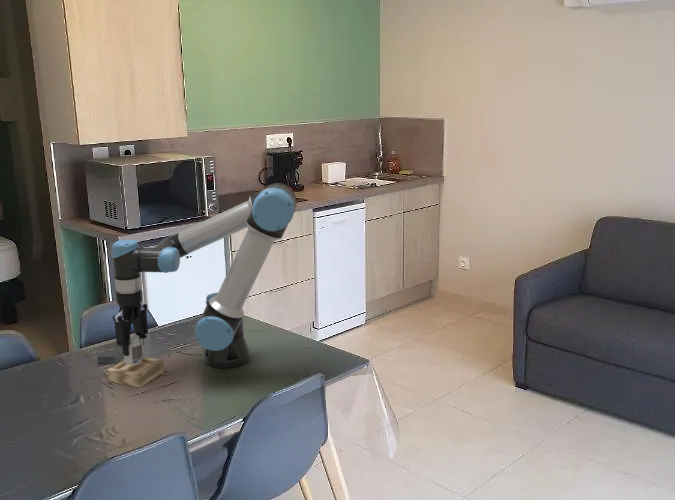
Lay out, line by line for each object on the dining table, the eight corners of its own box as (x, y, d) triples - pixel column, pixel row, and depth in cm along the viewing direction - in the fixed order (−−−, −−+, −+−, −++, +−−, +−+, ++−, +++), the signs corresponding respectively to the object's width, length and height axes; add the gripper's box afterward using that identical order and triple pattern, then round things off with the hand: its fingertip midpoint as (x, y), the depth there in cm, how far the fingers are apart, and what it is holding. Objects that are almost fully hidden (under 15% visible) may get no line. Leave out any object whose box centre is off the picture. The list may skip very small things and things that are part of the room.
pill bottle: (144, 358, 205) (142, 334, 203) (138, 365, 201) (136, 340, 199) (130, 358, 206) (128, 333, 204) (124, 364, 201) (121, 339, 199)
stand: (163, 371, 208) (163, 360, 207) (139, 387, 197) (138, 375, 196) (133, 366, 212) (132, 355, 211) (108, 381, 201) (107, 369, 200)
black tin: (122, 357, 220) (121, 349, 219) (116, 365, 214) (115, 356, 213) (105, 357, 220) (104, 349, 219) (98, 365, 214) (97, 356, 213)
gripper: (137, 281, 207) (143, 348, 212) (98, 297, 191) (105, 370, 196) (156, 283, 204) (161, 352, 210) (118, 300, 188) (125, 374, 194)
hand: (134, 360), depth 203 cm, fingers closed on pill bottle, 5 cm apart
